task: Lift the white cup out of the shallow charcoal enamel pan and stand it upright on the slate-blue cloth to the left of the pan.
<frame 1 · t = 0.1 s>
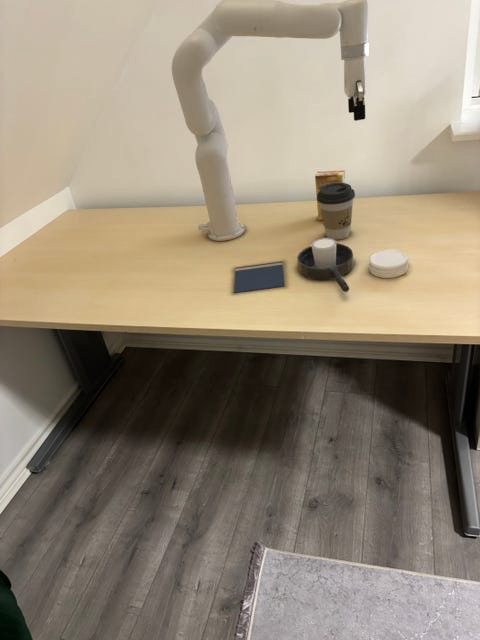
hand: (356, 115, 148), 31 cm above the table, tool pointing down, fingers open, 9 cm apart
cloth: (259, 277, 142), on the table
candy box: (332, 218, 166), on the table
pan: (325, 266, 141), on the table
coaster: (388, 269, 134), on the table
white cup: (325, 266, 141), resting on pan
coffee cup: (338, 235, 156), on the table
pan handle: (339, 279, 128), point 2 cm above the table
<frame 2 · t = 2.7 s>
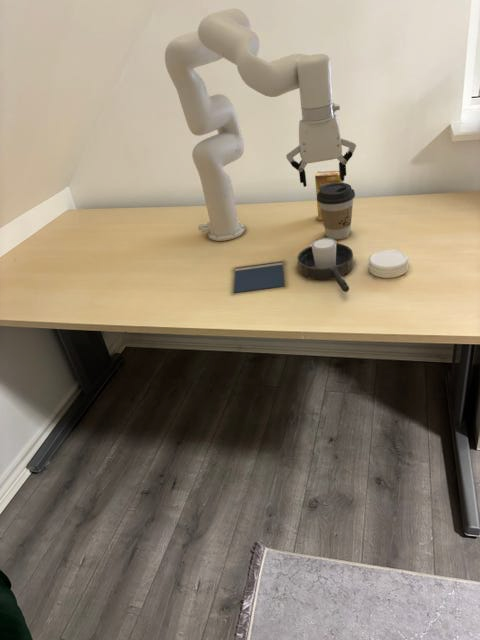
hand: (323, 181, 129), 24 cm above the table, tool pointing down, fingers open, 9 cm apart
nothing on the table moved.
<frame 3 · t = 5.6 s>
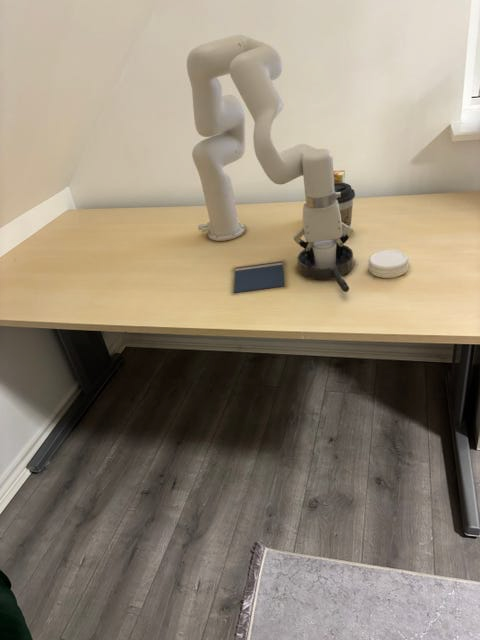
hand: (325, 259, 139), 2 cm above the table, tool pointing down, fingers closed on white cup, 6 cm apart
white cup: (325, 266, 141), resting on pan, touching gripper
everything else where it was.
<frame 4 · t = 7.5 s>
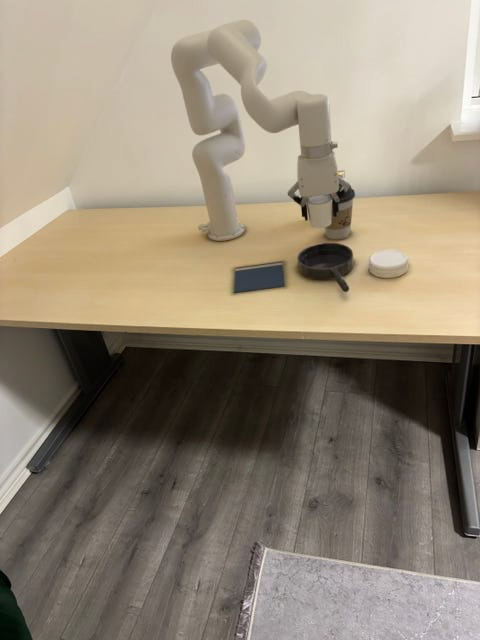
hand: (320, 216, 132), 15 cm above the table, tool pointing down, fingers closed on white cup, 6 cm apart
white cup: (320, 224, 134), point 13 cm above the table, touching gripper
everything else where it was.
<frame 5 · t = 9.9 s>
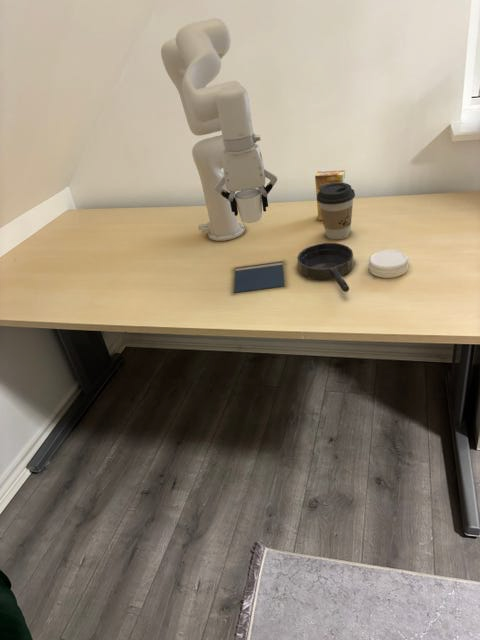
hand: (250, 211, 131), 20 cm above the table, tool pointing down, fingers closed on white cup, 6 cm apart
white cup: (251, 219, 132), point 18 cm above the table, touching gripper
everything else where it was.
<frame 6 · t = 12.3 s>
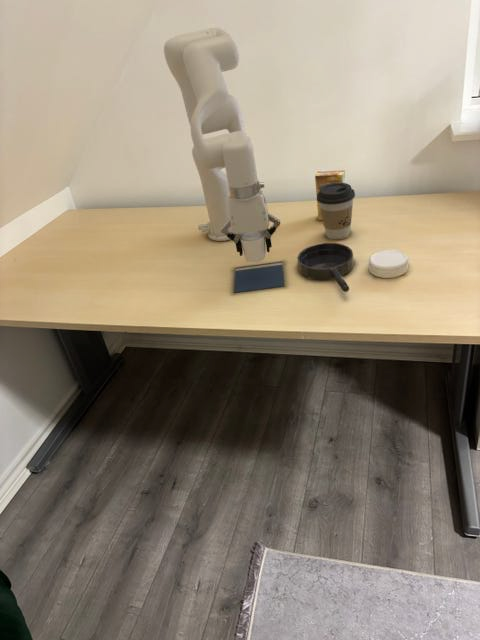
hand: (254, 251, 137), 8 cm above the table, tool pointing down, fingers closed on white cup, 6 cm apart
white cup: (256, 258, 139), point 6 cm above the table, touching gripper
everything else where it was.
when the fingers open (2 cm above the table, at t = 14.3 s): white cup stays where it is, resting on cloth.
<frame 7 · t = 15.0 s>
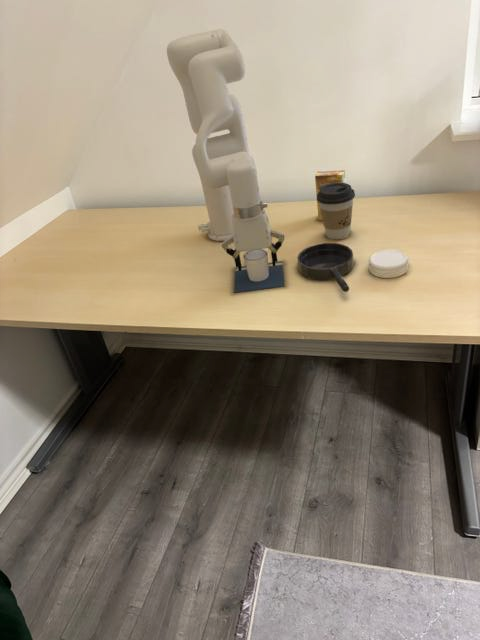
hand: (257, 266, 140), 4 cm above the table, tool pointing down, fingers open, 9 cm apart
white cup: (259, 276, 142), resting on cloth
everything else where it was.
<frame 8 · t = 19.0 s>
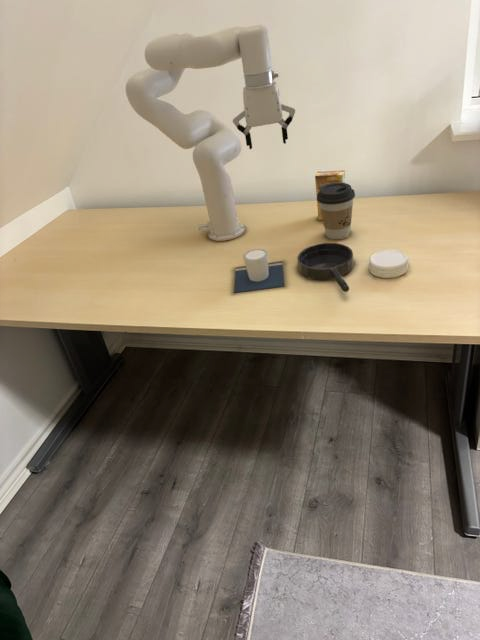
hand: (267, 145, 141), 30 cm above the table, tool pointing down, fingers open, 9 cm apart
nothing on the table moved.
at the end: white cup inside the target area (0.0 cm from its centre), resting on cloth; white cup tilted 0°; the gripper is holding nothing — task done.
